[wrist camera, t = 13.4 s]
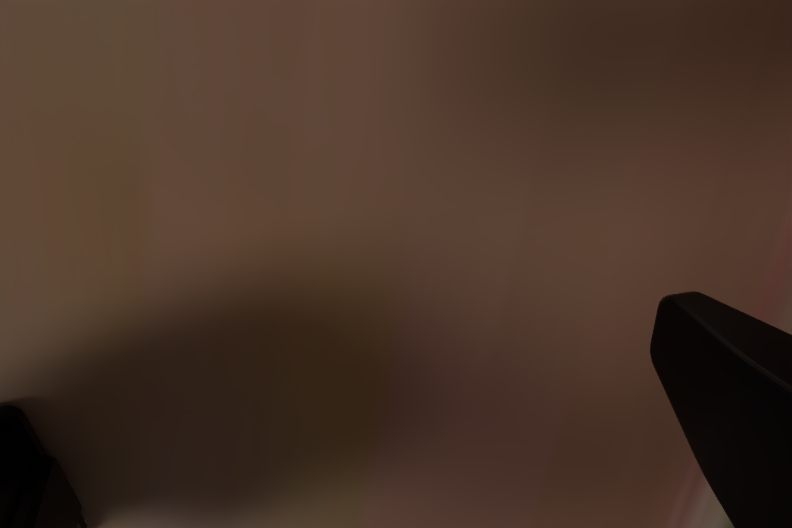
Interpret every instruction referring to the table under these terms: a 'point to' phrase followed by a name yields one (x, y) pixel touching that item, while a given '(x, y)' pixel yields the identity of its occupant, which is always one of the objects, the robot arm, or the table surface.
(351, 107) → the table surface
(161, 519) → the table surface
